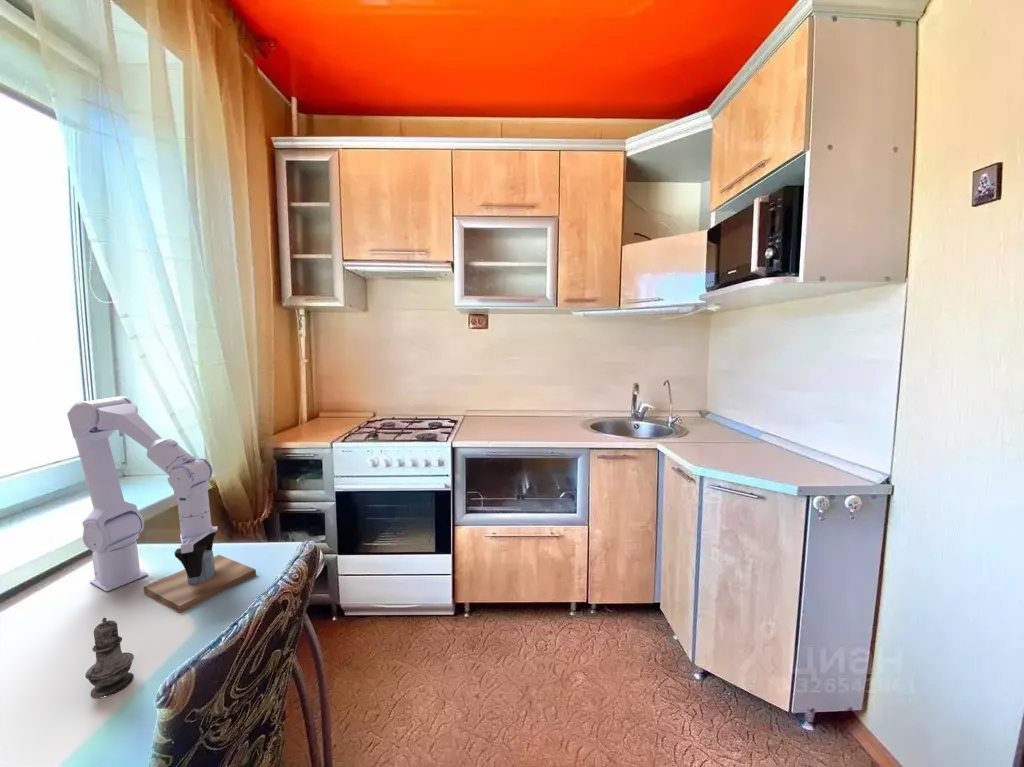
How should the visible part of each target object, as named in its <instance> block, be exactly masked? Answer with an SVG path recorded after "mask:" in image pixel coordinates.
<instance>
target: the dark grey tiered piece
mask: <svg viewBox="0 0 1024 767" xmlns="http://www.w3.org/2000/svg"><path fill="white" fill-rule="evenodd" d="M118 629H119V628H118V622H116V621H115V620H108V618H106V617H104V616H103V618H102V619H101V622H100V623H99V624H98V625H97V626H95V628H94V629H93V639H94V646H93V647H92V652H93V653H95V658H96V661H95V663H94V664H93V665H92V666H90V667H89V668H88V669H87V671H86V672H85V675H84V676H85V678H86V680H88V681H89V683H90V684H91V685H92V686H94V687H93V688H92V689H91V691H90V695H89V696H91V698H93V699H102V698H101V697H104V696H108V697H110V696H113V695H116V694H117V693H119V692H121V691H123V690H124V689H126V688H127V687H128V686H129V685H130V684H131V683H132V682H133V680H134V679H135V674H134V673H133V672H130V670H131V667H132V665H133V661H134V659H135V658H134V657H135V655H134V654H133V653H132V652H127V651H125V652H122V647H121V643H122V641H123V637H122V636H119V630H118ZM112 694H113V695H112ZM109 695H110V696H109ZM104 698H105V697H104Z"/></svg>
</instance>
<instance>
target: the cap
mask: <svg viewBox="0 0 1024 767" xmlns="http://www.w3.org/2000/svg"><path fill="white" fill-rule="evenodd" d="M214 557H215V556H214V552H213V549H212V550H205V552H204V555H203V560H202V572H201V575H200V576H199V577H194V578H189V577H188V575H187V580H188V583H190V584H198V583H202V582H205V581H207V580H209V579H211V578H213V577H214V575H215V567H214Z"/></svg>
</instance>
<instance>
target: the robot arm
mask: <svg viewBox="0 0 1024 767" xmlns="http://www.w3.org/2000/svg"><path fill="white" fill-rule="evenodd" d="M138 412H139V409H138V406H137V405H136V404H135V403H134V402H133V401H132V400H131V399H130V398H129V397H127V396H123V395H122V396H121V395H119V396H115V397H108V398H102V399H95V400H88V401H87V400H83V401H78V402H75V403H74V404H73V405H72V406H71V408H70V409H69V410H68V412H67V414H66V415H67V418H68V422H69V426H70V430H71V433H72V437H73V439H75V440H74V441H75V445H76V447H77V451H78V455H79V460H80V461H81V462H80V463H81V466H82V470H83V475H84V478H85V483H86V485H87V488H88V493H89V496H90V500H91V504H92V507H93V509H92V511H91V512H90V513H88V515H87V516H86V518H84V519H83V521H82V528H83V533H82V541H83V544H84V545H85V547H86V548H88V549H89V550H91V552H92V556H91V557H92V564H93V572H94V573H93V574H94V578H91V579H90V580H89V582H90V583H91V584H93V585H94V586H96V587H98V588H99V589H101V590H102V591H104V592H110V591H112V590H114V589H117V588H119V587H121V586H124V585H127V584H129V583H131V582H135V581H136V580H138V579H142V578H144V577H146V576H148V575H149V573H148V572H147V571H145V570H143V569H141V567H140V560H139V552H138V550H139V549H138V544H137V540H138V539H139V538H140V533H141V532H143V530H144V528H145V521H144V520H145V519H144V518H143V517H144V516H143V515H141V513H140V512H139V510H138V506H137V504H135V503H133V502H128V501H126V500H125V498H124V495H123V490H122V487H121V483H120V480H119V476H118V472H117V468H116V465H115V460H114V455H113V452H112V449H111V445H110V442H109V441H110V440H109V439H110V437H111V435H112V434H113V433H114V432H115V431H117V430H118V431H120V432H121V433H123V434H125V435H126V436H128V437H129V438H131V439H132V440H134V441H135V442H136V443H138V444H139V445H140V446H142V447H144V448H145V449H146V457H147V458H148V459H149V460H150V461H151V462H152V463H153V464H155V465H156V466H157V467H158V468H159V469H161V470H162V471H163V472H164V473H165V474H167V475H168V477H167V482H168V484H169V486H170V487H171V488H172V490H173V494H174V496H175V498H176V500H177V507H178V518H179V527H180V528H179V529H180V534H179V537H180V538H179V539H180V542H181V544H180V548H177V549H176V550H174V556H175V557H176V559H178V560H179V561H180V563H181V564H182V566H183V568H184V569H185V570H186V572H187V575H188V577H189V578H194V577H199V576H200V575H201V572H202V560H203V555H204V552H205V550H212V551H213V545H214V540H215V537H216V536H217V532H218V531H219V529H218V526H213V525H212V520H211V519H212V518H211V510H210V499H209V489H208V481H210V479H211V478H212V476H213V468H212V465H211V463H210V462H209V461H208V460H207V459H206V458H203V457H197V456H196V455H195V456H194V455H191V454H190V453H189V452H187V450H185V449H184V448H183V447H182V446H181V445H179V443H178V442H177V441H176V440H175V439H172V438H162V437H161V436H160V435H159V434H158V433H157V432H156V430H154V429H153V428H152V427H151V426H150V424H148V423H147V422H146V421H145V419H143V418H142V417H141V416H140V415H139V413H138Z"/></svg>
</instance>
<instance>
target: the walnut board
mask: <svg viewBox="0 0 1024 767" xmlns="http://www.w3.org/2000/svg"><path fill="white" fill-rule="evenodd" d="M213 557H214V567H215V575H214V577H213V578H211V579H209V580H207V581H205V582H202V583H198V584H190V583H188V580H187V572H186V570H185V568H184V569H181V570H179V571H177V572H174V573H172V574H170V575H168V576H166V577H162V578H160V579H158V580H155V581H154V582H151V583H148V584H145V585H144V586H143V592H144V594H146V595H147V594H148V596H149V595H150V598H153V599H155V600H156V599H157V601H158V602H160V603H161V604H163V603H164V605H166V606H167V607H169V608H171V609H172V608H173V610H175V612H178V613H183V612H184V611H187V610H188V609H191V608H193V607H195V606H197V605H198V604H201V603H203V602H205V601H207V600H208V599H211V598H212V597H215V596H217V595H219V594H221V593H223V592H225V591H227V590H229V589H231V588H233V587H235V586H237V585H239V584H241V583H243V582H245V581H247V580H249V579H251V578H253V577H255V576H257V572H256V569H255V568H253V567H252V566H249V565H246V564H243V563H241V562H239V561H236V560H234V559H231V558H228V557H225V556H223V555H221V554H217V555H215V556H213ZM224 590H225V591H224ZM222 591H223V592H222ZM218 593H219V594H218ZM214 595H215V596H214ZM210 597H211V598H210Z"/></svg>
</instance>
